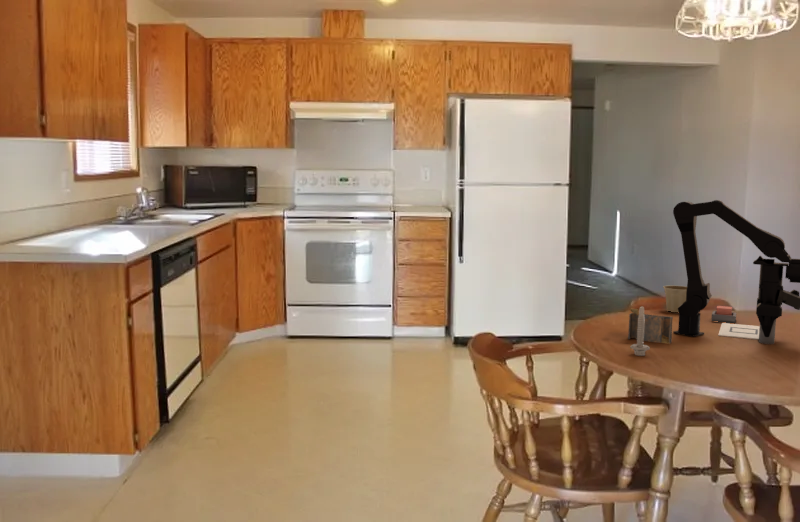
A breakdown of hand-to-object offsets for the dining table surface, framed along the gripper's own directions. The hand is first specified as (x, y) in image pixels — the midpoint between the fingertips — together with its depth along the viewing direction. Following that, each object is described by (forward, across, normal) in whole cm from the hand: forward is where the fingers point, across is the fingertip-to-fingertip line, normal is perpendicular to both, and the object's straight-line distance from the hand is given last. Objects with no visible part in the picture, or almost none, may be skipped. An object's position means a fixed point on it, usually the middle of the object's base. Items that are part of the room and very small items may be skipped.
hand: (766, 335), depth 199 cm
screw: (+2, -33, +30) cm, 44 cm away
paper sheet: (+2, +13, +6) cm, 14 cm away
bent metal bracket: (+3, -14, +30) cm, 33 cm away
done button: (0, +28, +12) cm, 30 cm away
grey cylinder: (+2, 0, 0) cm, 2 cm away
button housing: (+2, +28, +12) cm, 31 cm away
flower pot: (+2, +37, +28) cm, 47 cm away
